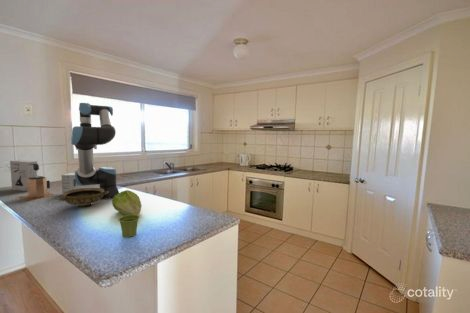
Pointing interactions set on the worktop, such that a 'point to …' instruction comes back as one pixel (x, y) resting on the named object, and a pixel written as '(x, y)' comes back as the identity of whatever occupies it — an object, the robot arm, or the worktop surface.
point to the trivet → (36, 198)
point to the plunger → (36, 168)
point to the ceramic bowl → (83, 196)
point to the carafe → (37, 187)
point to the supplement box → (69, 182)
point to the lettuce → (127, 203)
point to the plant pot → (129, 225)
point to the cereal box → (21, 173)
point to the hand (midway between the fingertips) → (86, 149)
